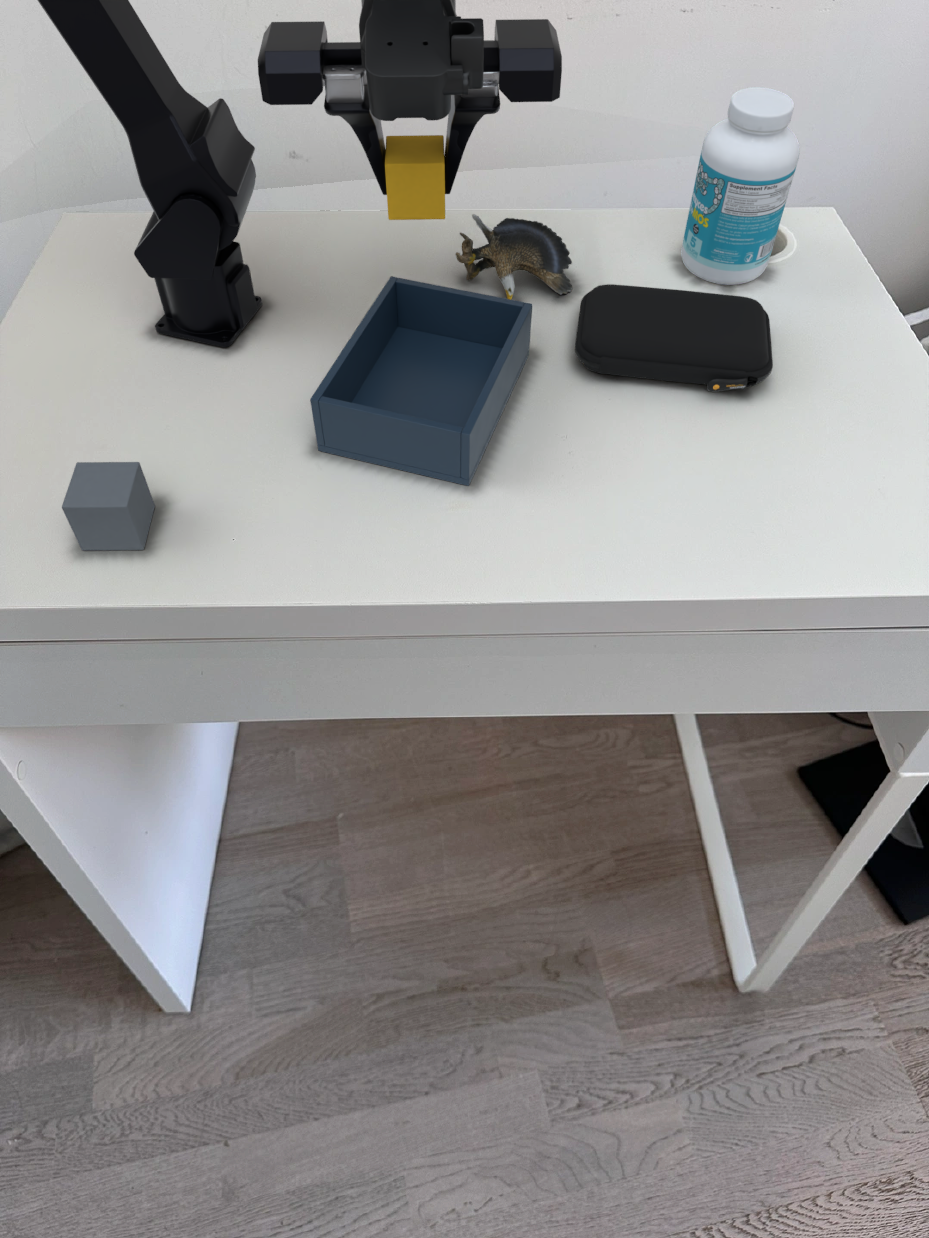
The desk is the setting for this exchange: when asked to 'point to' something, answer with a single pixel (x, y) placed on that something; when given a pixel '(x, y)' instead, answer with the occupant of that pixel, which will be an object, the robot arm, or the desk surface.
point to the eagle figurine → (518, 253)
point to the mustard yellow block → (415, 177)
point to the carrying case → (674, 336)
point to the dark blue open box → (423, 379)
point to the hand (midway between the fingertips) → (416, 192)
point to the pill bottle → (741, 188)
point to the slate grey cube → (109, 506)
